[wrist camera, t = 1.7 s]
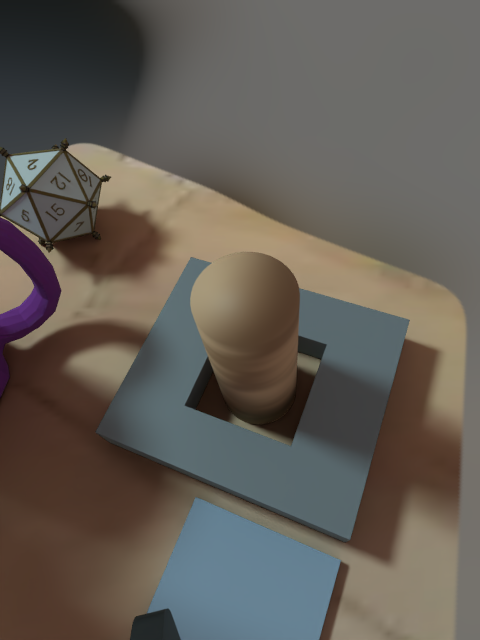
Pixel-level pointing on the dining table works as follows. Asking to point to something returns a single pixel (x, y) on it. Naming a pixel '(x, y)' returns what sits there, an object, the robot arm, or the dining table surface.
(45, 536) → the dining table surface
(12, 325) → the mug
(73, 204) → the game die
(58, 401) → the dining table surface
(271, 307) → the peg
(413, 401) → the dining table surface
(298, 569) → the pad
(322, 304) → the board
